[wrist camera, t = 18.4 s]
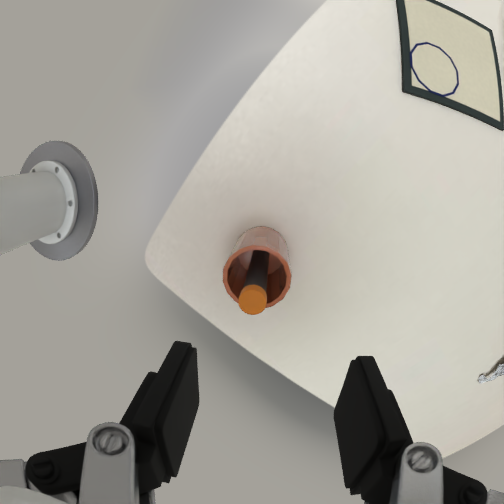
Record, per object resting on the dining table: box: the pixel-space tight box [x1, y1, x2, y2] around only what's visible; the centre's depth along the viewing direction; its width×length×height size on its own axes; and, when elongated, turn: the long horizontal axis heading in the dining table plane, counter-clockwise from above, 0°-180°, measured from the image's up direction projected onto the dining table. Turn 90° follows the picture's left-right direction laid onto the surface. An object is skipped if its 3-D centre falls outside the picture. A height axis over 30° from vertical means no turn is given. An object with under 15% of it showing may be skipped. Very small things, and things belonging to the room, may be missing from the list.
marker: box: [238, 250, 269, 315], centre depth 26 cm, size 2×2×12 cm
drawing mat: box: [396, 0, 504, 131], centre depth 22 cm, size 17×17×1 cm
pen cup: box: [223, 226, 291, 308], centre depth 28 cm, size 6×6×8 cm
